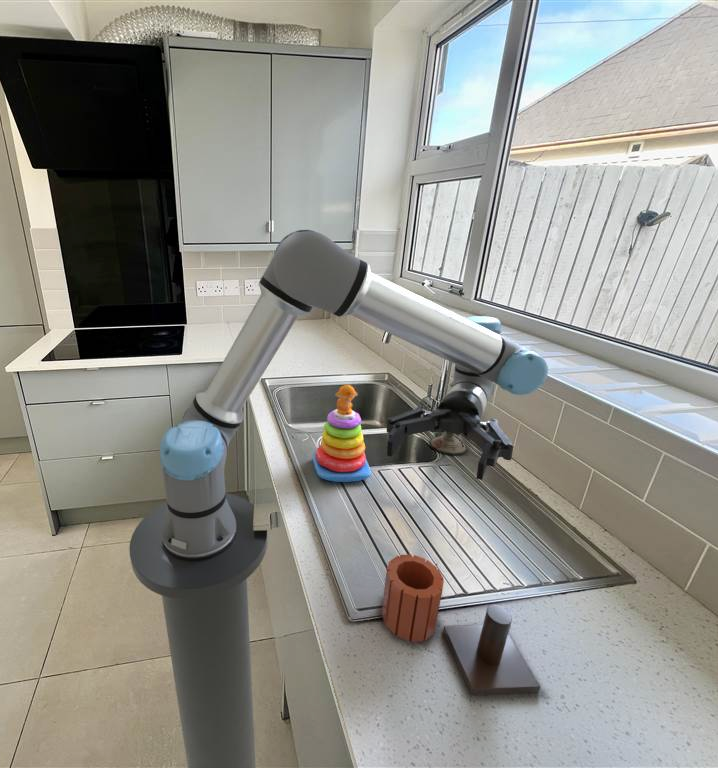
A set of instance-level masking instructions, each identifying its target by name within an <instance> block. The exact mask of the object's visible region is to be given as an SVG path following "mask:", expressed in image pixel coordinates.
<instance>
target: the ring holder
mask: <svg viewBox="0 0 718 768" xmlns="http://www.w3.org/2000/svg"><path fill="white" fill-rule="evenodd" d="M512 622H513V617H512V614H511V612H509V610H508V609H507V608H505V607H503V606H502V605H498V604H489V605H488V607H487V608H486V612H485V616H484V620H483V624H463V625H444V626H443V629H442V632H443V635H444V637H445V639H446V642H447V644H448V646H449V647H450V648H449V649H450V650H451V653H452V655H453V658H454V659H455V662H456V665H457V666H458V668H459V670H460V673H461V675H462V677H463V679H464V682H465V685H466V687H467V688H468V690H469V693H470V695H471V696H478V695H479V696H481V695H507V694H508V695H509V694H532V693H533V694H534V693H539V692H540V689H541V685H540V683H539V682H538V680H537V678H536V677H535V675H534V674H533V672H532V670H531V668H530V666H529V665H528V663H527V662H526V660H525V659H524V657H523V655H522V653H521V652H520V651H519V648H518V647H517V645H516V644H515V642H514V641H513V639H512V638H511V636H510V634H509V632H510V629H511V625H512Z"/></svg>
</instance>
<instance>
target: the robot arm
mask: <svg viewBox="0 0 718 768" xmlns="http://www.w3.org/2000/svg"><path fill="white" fill-rule="evenodd" d="M258 285H259V289H260V296H259V297H258V299H257V301H256V303H255V304H254V306H253V308H252V309H251V312H250V313H249V315H248V317H247V319H246V321H244V324H243V326H242V328H241V330H240V331H239V333H238V334H237V336H236V338H235V339H234V342H233V344H232V345H231V347H230V349H229V350H228V352H227V354H226V355H225V358H224V360H223V361H222V363H221V364H220V366H219V368H218V370H217V372H216V373H215V375H214V377H213V378H212V380H211V382H210V384H209V386H208V388H205V389H201V390H199V391H198V392H197V393H196V395H195V396H194V398H193V400H192V402H191V404H190V405H189V407H187V408H186V410H185V412H184V413H183V415H182V417H181V418H182V419H181V420H180V421H181V422H180V423H178V424H176V425H175V426H172V427H171V428H169V429H168V430H167V431H166V432H165V433H164V435H163V436H162V438H161V441H160V444H159V461H160V465H161V469H162V477H163V484H164V492H165V500H166V502H167V511H166V515H165V519H164V522H163V526H162V542H163V546H164V548H165V549H166V551H167V552H168V553H169V554H170V555H172V556H174V557H176V558H178V559H181V560H186V561H200V560H205V559H209V558H212V557H214V556H217V555H219V554H220V553H222V552H223V551H225V550H226V549H227V548H228V547H229V546H230V545H231V544H232V543H233V541H234V539H235V537H236V532H237V527H236V520H235V516H234V514H233V512H232V510H231V508H230V506H229V504H228V502H227V500H226V494H225V493H226V482H225V481H226V479H225V477H226V476H225V466H226V459H227V457H228V456H227V454H228V450H229V445H230V443H231V441H232V439H233V437H234V435H235V434H236V432H237V431H238V429H239V428H240V425H241V424H242V423H243V421H244V418H245V416H244V411H243V407H244V406H245V405H246V403H247V401H248V399H249V398H250V396H251V395H252V393H253V391H254V389H255V388H256V386H257V385H258V383H259V381H260V380H261V379H262V376H263V374H265V371H266V370H267V368H268V367H269V365H270V363H271V362H272V360H273V359H274V357H275V355H276V354H277V352H278V350H279V349H280V347H281V345H282V344H283V342H284V340H285V339H286V337H287V336H288V334H289V332H290V331H291V329H292V328H293V326H294V324H295V323H296V321H297V320H298V318H300V317H301V316H305V315H309V314H310V313H311V311H312V309H314V308H317V309H319V310H322V311H325V312H327V313H330V314H332V315H334V316H336V317H338V318H344V317H347V316H351V317H353V318H355V319H358V320H360V321H362V322H364V323H366V324H368V325H370V326H372V327H375V328H376V329H379V330H381V331H383V332H386V333H388V334H390V335H392V336H394V337H397V338H398V339H401V340H403V341H405V342H407V343H409V344H412V345H414V346H416V347H418V348H420V349H422V350H425V351H427V352H429V353H431V354H434V355H435V356H436V357H437V356H438V357H439V358H441V359H444V360H445V361H448V362H450V363H453V364H454V371H453V379H452V380H453V381H452V382H453V386H452V387H451V386H450V389H449V390H448V391H447V392H446V394H445V395H444V397H443V399H442V400H441V401H440V402H439V405H438V406H437V408H436V409H433V410H432V411H430V410H426V406H424V405H418V406H417V407H415V408H414V409H412V410H409V411H406V412H403V413H401V414H400V413H399V414H398V415H395V416H392V417H389V418H387V419H386V433H387V434H388V440H387V448H386V449H387V451H386V456H387V457H393V456H394V454H395V453H396V451H397V450H398V449H399V448H400V446H401V445H402V443H403V442H404V441H405V437H407V436H412V435H417V434H421V433H422V434H423V433H427V432H430V433H437V432H438V433H439V432H444V433H446V432H451V433H454V435H459V436H462V437H463V438H464V439H466V441H471V442H472V443H473V444H474V445H475V446H476V447H478V449H480V450H481V451H482V452H481V455H480V458H479V461H478V463H477V470H476V471H477V472H476V479H477V480H479V481H480V480H481V481H483V479H484V476H485V472H486V470H487V467H492V468H494V467H496V465H497V462H498V459H499V458H502V459H503V460H506V461H512V460H513V459H512V458H513V455H514V447H515V445H514V444H513V442H512V441H511V440H510V439H509V437H508V436H507V434H505V432H504V431H503V430H502V429H501V427H500V426H499V425H498V423H499V420H498V419H496V418H490V419H489V420H487V421H482V420H481V418H482V417H483V414H484V412H485V410H486V407H487V405H488V403H489V401H490V399H491V398H492V396H493V394H494V391H495V385H498V386H499V388H500V389H502V390H503V391H507V392H509V393H510V394H513V395H516V396H525V395H530V394H532V393H534V392H536V391H538V389H540V388H541V387H542V385H544V383H545V381H546V380H547V378H548V376H549V375H548V374H549V366H548V364H547V361H546V360H545V358H544V357H542V356H541V355H540V354H538V353H537V352H536V351H534V350H532V349H529V348H527V347H524V346H523V345H520V344H518V343H516V342H514V341H513V340H510V339H508V338H507V337H505V336H502V335H501V333H502V329H501V328H502V323H501V321H500V320H499V319H498V318H497V317H492V316H488V315H487V316H484V315H473V316H467V317H464V316H461V315H459V314H457V313H455V312H454V311H451V310H449V309H447V308H445V307H443V306H441V305H439V304H437V303H435V302H433V301H431V300H429V299H427V298H425V297H423V296H421V295H418V294H416V293H414V292H413V291H411V290H408V289H406V288H404V287H402V286H400V285H398V284H396V283H394V282H392V281H390V280H388V279H386V278H384V277H382V276H380V275H377V274H376V273H374V272H372V271H371V266H370V264H369V262H366V261H364V260H362V259H360V258H359V257H356V256H355V255H353V254H351V253H350V252H348V251H347V250H345V249H344V248H342V247H341V246H340V245H339V244H337V243H336V242H334V241H333V240H332V239H331V238H330V237H328V236H327V235H324V234H322V233H320V232H317V231H315V230H312V229H299V230H295V231H291V232H290V233H289V234H287V235H286V236H284V237H283V238H282V239H281V240H280V242H279V243H278V245H277V246H276V248H275V250H274V253H273V256H272V258H271V260H270V262H269V264H268V266H267V267H266V269H265V270H264V272H263V274H262V276H261V278H260V280H259V282H258Z"/></svg>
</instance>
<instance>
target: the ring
mask: <svg viewBox="0 0 718 768" xmlns="http://www.w3.org/2000/svg"><path fill="white" fill-rule="evenodd" d="M385 572H386V573H385V580H384V588H383V596H382V605H381V616H382V619H383V622H384V624H385V626H386V627H387V629H388V630H390V632H391V633H392V634H394V635H396V637H398V638H400V639H402V640H404V641H406V642H411V643H417V642H424V641H425V642H426V641H428V640H429V639H430V638H431V637H432V636H433V635H434V634H435V631H436V627H437V626H436V625H437V621H438V615H439V610H440V604H441V601H442V600H441V599H442V596H443V595H442V594H443V588H444V585H445V584H444V583H445V580H444V577H443V574H442V572H441V571H440V569H439V568H438V566H436V565H435V564H434V563H433V562H431V561H430V560H426V558H425V557H421V556H419V555H415V554H414V555H412V553H411V554H400V555H396V556H394V557H393V558H391V559H390V560H389V561H388V563H387V567H386V571H385Z"/></svg>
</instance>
